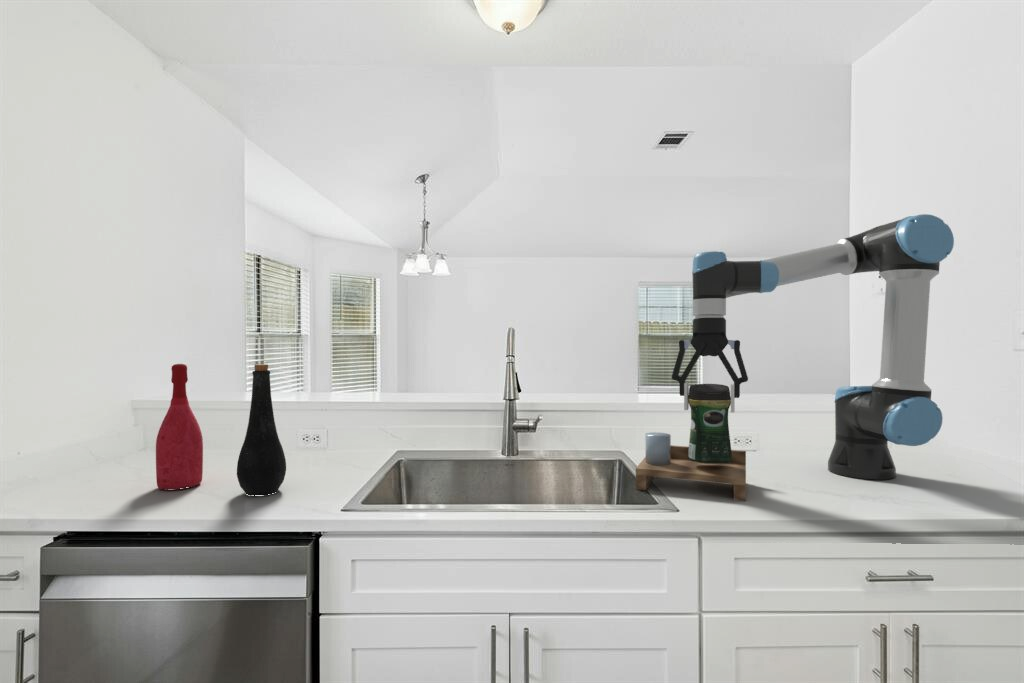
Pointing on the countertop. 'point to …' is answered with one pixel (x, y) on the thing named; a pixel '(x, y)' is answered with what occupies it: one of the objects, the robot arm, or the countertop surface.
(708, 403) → the coffee jar
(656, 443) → the grey blue cylinder
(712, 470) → the shelf
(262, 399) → the bottle
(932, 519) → the countertop surface
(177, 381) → the wine bottle
